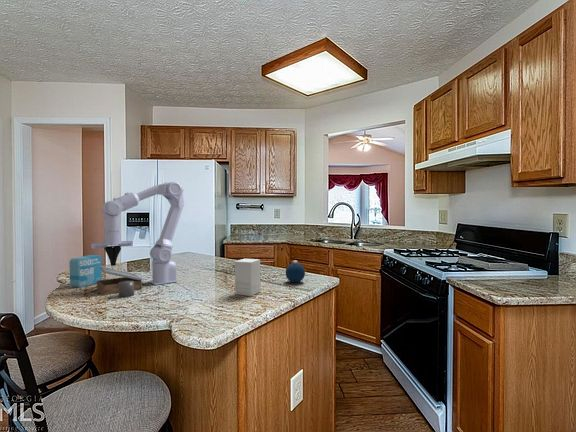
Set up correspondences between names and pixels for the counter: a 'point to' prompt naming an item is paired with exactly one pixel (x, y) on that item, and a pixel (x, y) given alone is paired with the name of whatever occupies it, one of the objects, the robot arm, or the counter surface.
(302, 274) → the christmas ornament
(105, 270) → the lid
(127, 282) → the dark grey rounded plug
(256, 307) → the counter surface
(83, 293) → the counter surface
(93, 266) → the data package
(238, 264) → the supplement box
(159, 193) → the robot arm
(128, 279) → the box
